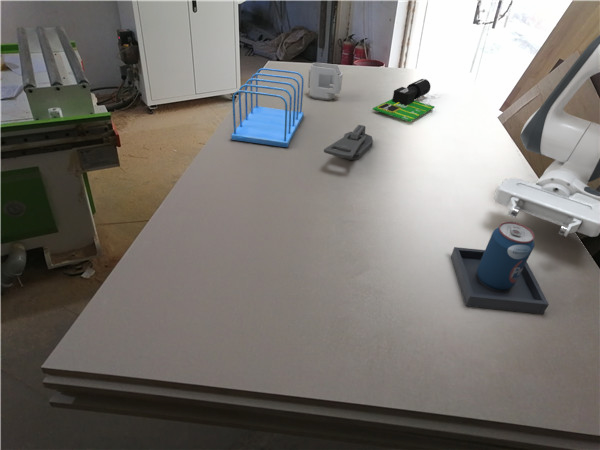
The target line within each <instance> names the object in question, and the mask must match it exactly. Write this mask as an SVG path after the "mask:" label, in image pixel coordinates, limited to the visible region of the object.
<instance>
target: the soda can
mask: <svg viewBox="0 0 600 450" xmlns="http://www.w3.org/2000/svg"><path fill="white" fill-rule="evenodd" d="M534 248H535V234H534V232H533V230H532V229H530V228H529V227H527V226H526V225H524V224H522V223H519V222H515V221H504V222H501V223H500V224H499V226H497V228H495V229H493V231H492V233H491V235H490V238H489V240H488V242H487V244H486V247H485V249H484V250H485V252H484V254H483V256H482V259H481V261H480V263H479V266H478V268H477V274H478V277H479V280H480V282H481V283H482V284H483V285H484V286H486V287H488V288H490V289H492V290H496V291H504V290H507V289H509V288H511V287H513V286H514V285H515V283H516V281H517V279H518V277H519V275H520V273H521V271H522V269H523V267H524V265H525V263H526V262H527V263H528V259H529V258H530V256H531V253H532V252H533V250H534Z"/></svg>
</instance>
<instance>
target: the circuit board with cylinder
mask: <svg viewBox="0 0 600 450" xmlns="http://www.w3.org/2000/svg"><path fill="white" fill-rule="evenodd" d="M431 86H432V85H431V82H430V81H429V80H428V79H426V78H421V79H418V80H416V81H413V82H412V83H410V84H408V85H407V87H404V86H401V87H398V88H396V89H394V90H393V94H392V98H390V99H389V100H386V101H385V102H382V103H380V104H378V105H377V106H374V107H372V110H373V111H375V112H379V113H382V114H384V115H388V116H391V117H394V118H397V119H400V120H403V121H406V122H409V123H410V122H413V121H414V120H416V119H418V118H419V117H421V116H423V115H424V114H426V113H428V112H429V111H432V110H433V109H435V106H434V105H432V104H431V105H430V104H428V103H424V102H421V101H418V100H417V99H419V98H421V97H423V96H425V95H427V94H428V93H429V92H430V91H431Z"/></svg>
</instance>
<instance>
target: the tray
mask: <svg viewBox="0 0 600 450" xmlns="http://www.w3.org/2000/svg"><path fill="white" fill-rule="evenodd" d="M484 252H485V249H477V248H467V247H457V246H454V247H453V250H452V252H451V255H450V259H451V261H452V265H453V268H454V271H455V274H456V278H457V282H458V284H459V289H460V291H461V295H462V298H463V301H464V304H465V307H471V308H480V309H488V310H500V311H508V312H517V313H518V312H519V313H529V314H539V315H544V313H545V311H546V310H547V308H549V305H550V303H549V302H548V300H547V297H546V296H545V294H544V292H543V290H542V288H541V287H540V284H539V283H538V281H537V279H536V277H535V275H534V273H533V271H532V269H531V266H530V265H529V263H528V261H527V262H526V263H525V265H524V267H523V269H522V271H521V273H520V275H519V277H518V279H517V281H516V283H515V285H514V286H513V287H511V288H509V289H507V290H504V291H496V290H492V289H490V288H488V287H486V286H484V285H483V284H482V283H481V282H480V280H479V277H478V274H477V268H478V266H479V263H480V261H481V259H482V256H483V254H484Z"/></svg>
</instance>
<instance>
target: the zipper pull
mask: <svg viewBox="0 0 600 450" xmlns="http://www.w3.org/2000/svg"><path fill="white" fill-rule="evenodd" d="M373 143H374V139H373V136H372V135H370V134H367V133H366V125H363V124H357V126H356V127H355V128H354V130H353V131H349V132H346V133H344V135H343V137H341V138H340V139H338V140H337V141H334V143H332V144H329V145H328V146H327V147H325V148H324V149H323V153H325V154H328V155H331V156H335V157H339V158H342V159H345V160H349V161H356V160H357V161H359V160H361V158H362V157H364V155H365V154H366V153H367V152H369V151H370V150H371V149H372V147H373Z"/></svg>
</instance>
